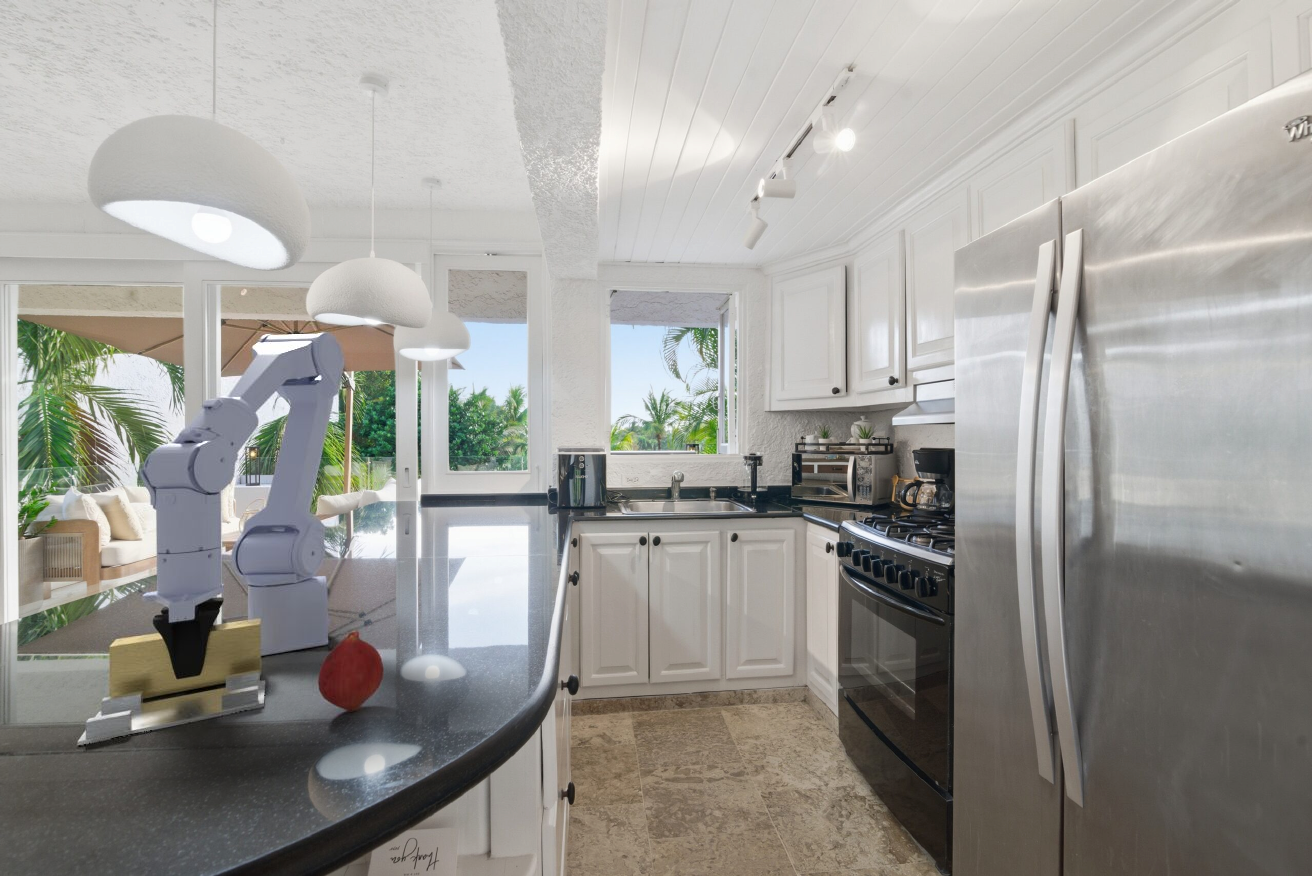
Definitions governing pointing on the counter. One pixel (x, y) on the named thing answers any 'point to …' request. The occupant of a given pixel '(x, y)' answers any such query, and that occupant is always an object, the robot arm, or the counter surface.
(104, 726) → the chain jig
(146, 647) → the brass plaque on stand
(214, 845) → the counter surface
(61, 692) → the counter surface
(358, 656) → the onion
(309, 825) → the counter surface
